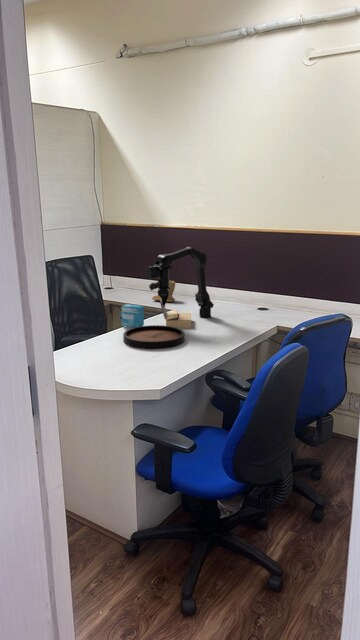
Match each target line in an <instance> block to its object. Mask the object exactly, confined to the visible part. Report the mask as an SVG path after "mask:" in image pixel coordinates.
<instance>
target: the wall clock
mask: <svg viewBox="0 0 360 640" xmlns="http://www.w3.org/2000/svg"><path fill="white" fill-rule="evenodd" d="M185 336H186V334H185V331H184V330H182V328H175V327H170V326H166V325H161V324H160V325H158V324H157V325H155V324H154V325H152V324H151V325H143V326H140V327H130V328H128V329H126V330H125V331H124V332H123V335H122V337H123V343H124V344H125V345H127V346H128V347H131V348H134V349H135V348H136V349H141V350H142V349H143V350H165V349H166V350H167V349H171V348H176V347H179V346H180V345H182V344H184V342H185V340H186V339H185V338H186V337H185Z"/></svg>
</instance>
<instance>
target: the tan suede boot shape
mask: <svg viewBox="0 0 360 640" xmlns="http://www.w3.org/2000/svg"><path fill="white" fill-rule="evenodd" d="M169 285H170V292H169V296H168V299H167V301H166V303H167V302H174V301H176V298H175V297H173V294H174V291H175V289H176V288H175V287H176V281H173V280H169ZM168 290H169V289H168ZM151 300H153V301H156V302H157V301H158V302H159V301H161V297H160V296H158V294H157V295H154V296H152V298H151Z"/></svg>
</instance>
